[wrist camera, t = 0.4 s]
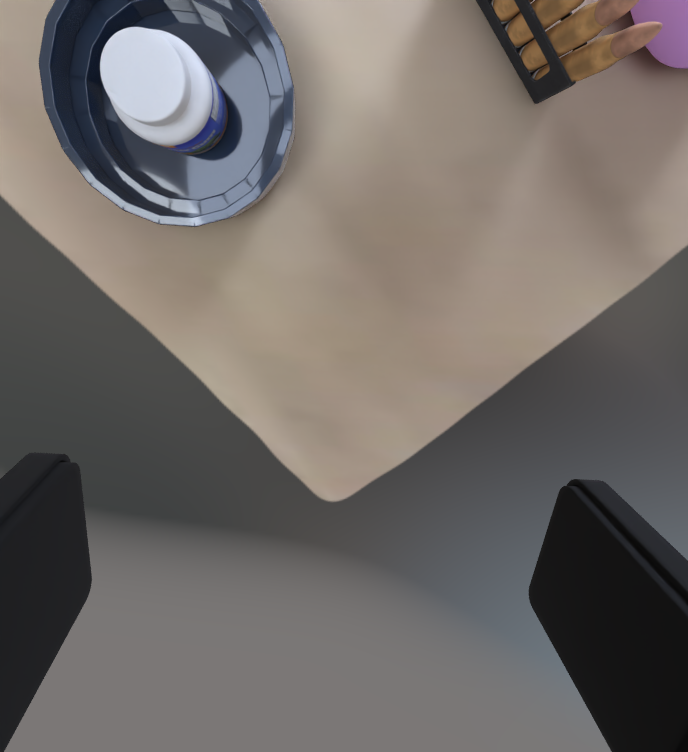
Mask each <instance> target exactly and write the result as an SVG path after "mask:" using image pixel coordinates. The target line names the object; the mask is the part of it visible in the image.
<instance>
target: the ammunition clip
mask: <svg viewBox="0 0 688 752" xmlns="http://www.w3.org/2000/svg"><path fill="white" fill-rule="evenodd" d="M476 1H477V3H478V4H479V6H480V8H481V10H482V12H483V13H484V15H485V17H486V19H487V20H488V22H489V24H490V26H491V27H492V29H493V31H494V33H495V34H496V36H497V38H498V40H499V41H500V43H501V45H502V47H503V48H504V50H505V52H506V54H507V56H508V57H509V59H510V61H511V63H512V64H513V66H514V68H515V70H516V71H517V73H518V75H519V77H520V78H521V80H522V82H523V84H524V85H525V87H526V89H527V91H528V93H529V94H530V96H531V98H532V100H533V101H534V103H535V104H538V103H540V102H542V101H543V100H545V99H547V98H549V97H551V96H553V95H555V94H557V93H559V92H561V91H563V90H565V89H567V88H569V87H571V86H572V85H574V84H575V83H576V82H577V81H580V80H582V79H584V78H587V77H589V76H591V75H594V74H596V73H598V72H601V71H603V70H605V69H607V68H609V67H610V66H612V65H613V64H614V63H615V62H617V61H618V60H620V59H622V58H624V57H626V56H627V55H629V54H631V53H633V52H635V51H637V50H638V49H640V48H642V47H643V46H645V45H646V44H647V43H649V42H650V41H651V40H652V39H653V38H654V37H655V36H656V35H657V34H658V33H659V32H660V30H661V29H662V24H661V23H659V22H654V21H653V22H645V23H640V24H637V25H633V26H631V27H628V28H626V29H624V30H622V31H619V32H616V33H614V34H611V35H606V36H602V37H600V38H598V39H596V40H594V41H592V42H590V43H588V44H587V41H589V40H591V39H592V38H594V37H595V36H597V35H598V34H599V33H600V32H601V31H602V30H603V29H604V28H606V27H607V26H609V25H610V24H612V23H613V22H614V21H616V20H617V19H619V18H621V17H622V16H623V15H625V14H626V13H627V12H628V11H630V10H631V9H632V8H633V7H634V6H635V5H636V4H637V3H638V1H639V0H599V1H597V2H595V3H591V4H588V5H586V6H584V7H583V8H581V9H579V10H578V11H576V12H575V13H573V14H572V12H571V11H573V10H574V9H575V8H577V7H578V6H580V5H581V4H582V3H583V1H584V0H535V1H534V2H533V3H531V2H532V1H533V0H476ZM530 3H531V4H530ZM560 19H561V22H560V23H558V24H557V25H555V26H554V27H552V28H551V29H549V30H548V31H546V32H545V29H547V28H548V27H550V26H551V25H553V24H554V23H555V22H557V21H558V20H560ZM571 50H573V51H572V52H571V53H569V54H567V55H565V56H563V57H561V58H559V57H560V56H562V55H564V54H566V53H567V52H569V51H571Z"/></svg>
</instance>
